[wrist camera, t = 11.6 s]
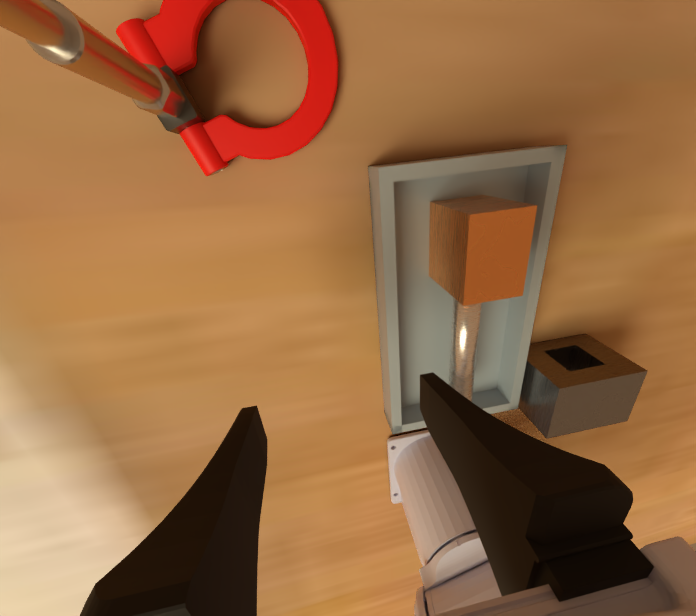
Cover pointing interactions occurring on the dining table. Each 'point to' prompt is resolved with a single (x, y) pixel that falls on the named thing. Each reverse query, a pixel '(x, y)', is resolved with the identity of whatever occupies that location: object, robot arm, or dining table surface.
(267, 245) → the dining table surface
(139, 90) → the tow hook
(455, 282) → the hitch pin
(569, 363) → the block
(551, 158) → the tray
